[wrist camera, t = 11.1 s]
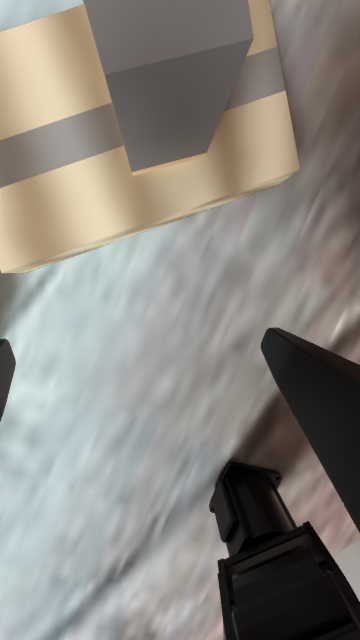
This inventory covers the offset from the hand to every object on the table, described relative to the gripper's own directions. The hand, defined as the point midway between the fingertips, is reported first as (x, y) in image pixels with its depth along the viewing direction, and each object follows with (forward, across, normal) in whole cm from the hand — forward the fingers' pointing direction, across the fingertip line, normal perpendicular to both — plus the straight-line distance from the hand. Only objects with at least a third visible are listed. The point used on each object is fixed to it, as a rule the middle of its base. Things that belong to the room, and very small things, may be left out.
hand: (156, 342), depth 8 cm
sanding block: (+13, -1, -8) cm, 15 cm away
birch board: (+16, 0, -6) cm, 17 cm away
